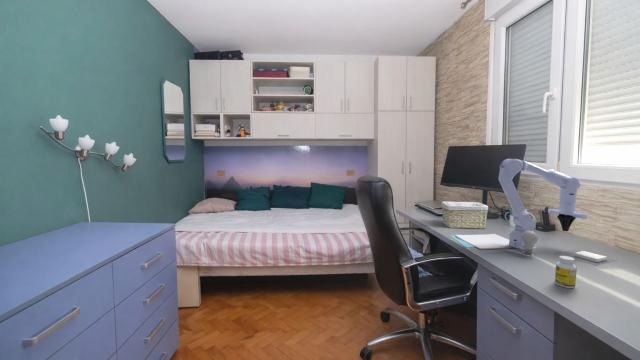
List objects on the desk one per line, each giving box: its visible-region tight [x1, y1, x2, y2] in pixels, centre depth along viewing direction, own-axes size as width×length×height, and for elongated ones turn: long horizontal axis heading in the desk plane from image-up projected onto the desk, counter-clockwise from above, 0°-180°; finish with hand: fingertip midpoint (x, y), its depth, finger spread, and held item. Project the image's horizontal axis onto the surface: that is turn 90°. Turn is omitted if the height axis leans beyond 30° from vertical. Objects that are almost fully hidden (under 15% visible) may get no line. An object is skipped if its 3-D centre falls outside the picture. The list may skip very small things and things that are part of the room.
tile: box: [574, 250, 608, 262], centre depth 121 cm, size 7×2×8 cm
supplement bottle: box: [554, 255, 578, 289], centre depth 97 cm, size 5×5×10 cm
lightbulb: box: [521, 231, 539, 255], centre depth 128 cm, size 6×6×11 cm
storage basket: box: [441, 200, 489, 229], centre depth 180 cm, size 24×16×15 cm
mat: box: [554, 249, 618, 266], centre depth 123 cm, size 16×15×1 cm
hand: (565, 230), depth 133 cm, fingers closed
